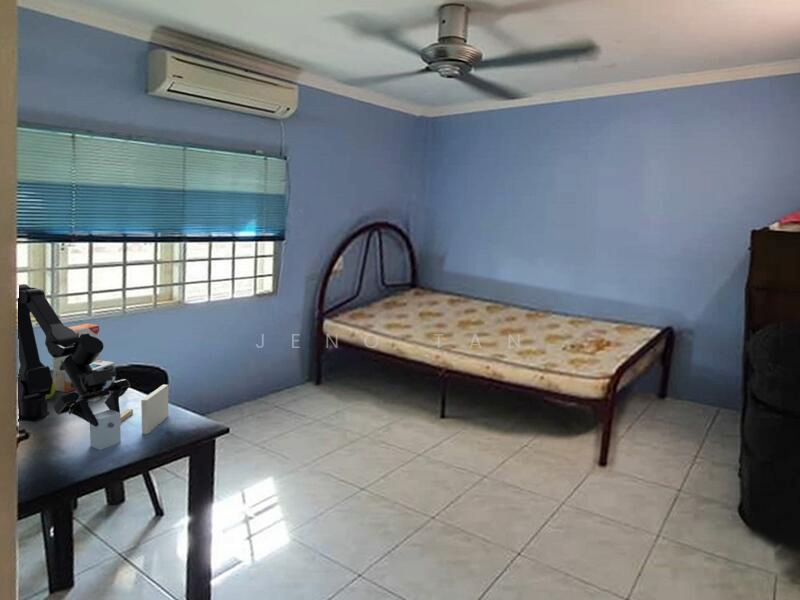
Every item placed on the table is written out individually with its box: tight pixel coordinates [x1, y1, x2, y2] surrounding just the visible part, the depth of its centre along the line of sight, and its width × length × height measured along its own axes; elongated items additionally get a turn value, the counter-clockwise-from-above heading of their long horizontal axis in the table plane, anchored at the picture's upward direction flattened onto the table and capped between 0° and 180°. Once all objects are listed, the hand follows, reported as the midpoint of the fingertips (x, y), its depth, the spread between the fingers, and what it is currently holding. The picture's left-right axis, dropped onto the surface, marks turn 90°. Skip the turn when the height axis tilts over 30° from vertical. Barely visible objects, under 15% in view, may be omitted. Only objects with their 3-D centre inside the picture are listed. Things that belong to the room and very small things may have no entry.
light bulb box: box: [76, 360, 116, 403], centre depth 186 cm, size 11×7×11 cm, turn 168°
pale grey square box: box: [89, 409, 122, 451], centre depth 151 cm, size 5×6×8 cm
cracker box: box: [52, 323, 101, 394], centre depth 194 cm, size 14×6×21 cm, turn 160°
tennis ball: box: [45, 382, 56, 400], centre depth 181 cm, size 7×7×7 cm
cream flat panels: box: [120, 384, 169, 435], centre depth 166 cm, size 12×14×10 cm
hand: (108, 422), depth 151 cm, fingers closed on pale grey square box, 6 cm apart
